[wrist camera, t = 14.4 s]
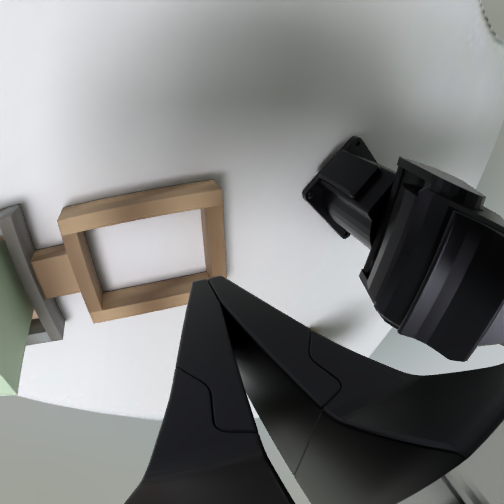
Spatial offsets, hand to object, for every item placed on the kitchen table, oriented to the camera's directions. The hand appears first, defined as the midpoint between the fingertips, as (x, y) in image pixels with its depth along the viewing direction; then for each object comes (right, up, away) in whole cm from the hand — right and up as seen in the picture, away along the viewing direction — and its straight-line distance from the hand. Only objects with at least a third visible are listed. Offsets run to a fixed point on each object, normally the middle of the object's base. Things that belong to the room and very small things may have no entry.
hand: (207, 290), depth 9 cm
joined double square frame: (-11, 0, +10) cm, 15 cm away
